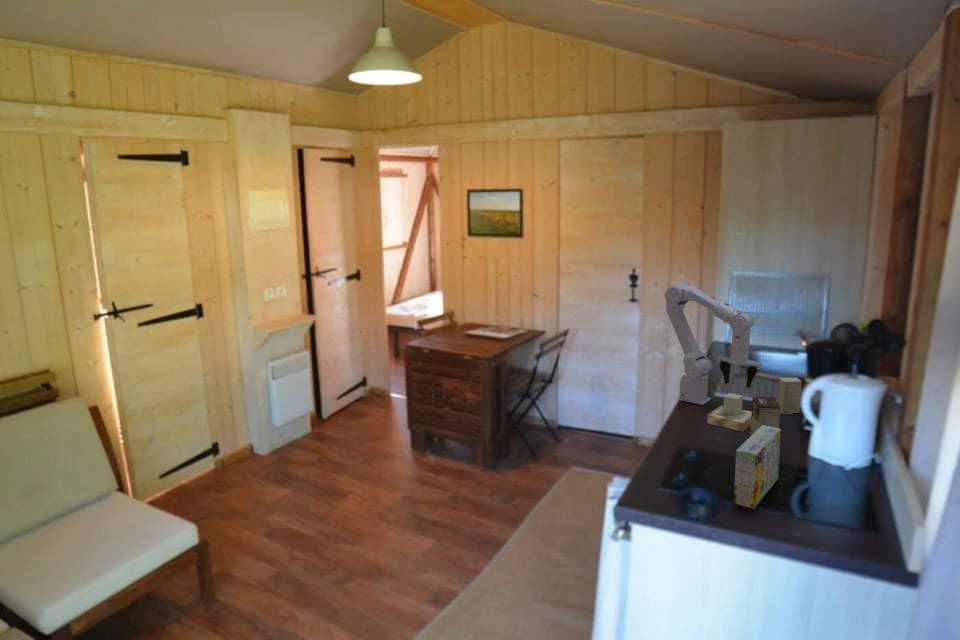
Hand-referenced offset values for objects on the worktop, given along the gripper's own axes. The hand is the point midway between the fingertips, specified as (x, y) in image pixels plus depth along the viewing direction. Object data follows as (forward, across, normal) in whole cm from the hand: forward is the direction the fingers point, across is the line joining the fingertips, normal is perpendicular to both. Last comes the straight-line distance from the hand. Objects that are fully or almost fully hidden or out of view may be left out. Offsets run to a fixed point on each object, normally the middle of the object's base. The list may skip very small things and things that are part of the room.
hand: (737, 385), depth 232 cm
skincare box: (+10, +15, +9) cm, 20 cm away
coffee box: (+10, +20, -30) cm, 37 cm away
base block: (+9, +3, -12) cm, 16 cm away
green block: (+6, +3, -12) cm, 14 cm away
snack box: (+10, +27, -57) cm, 64 cm away
